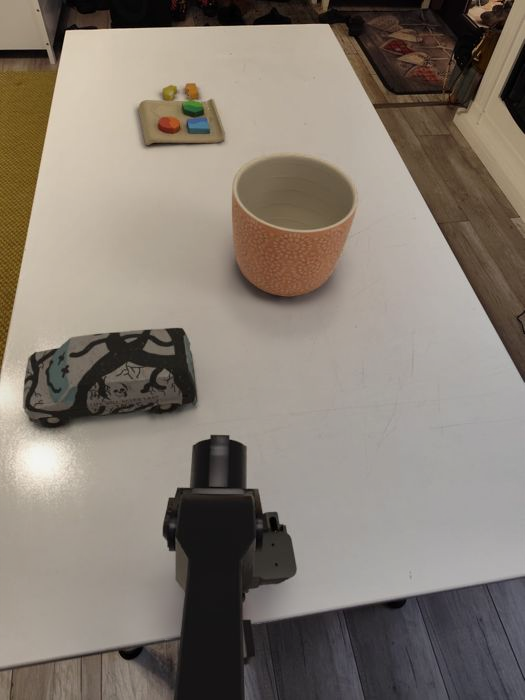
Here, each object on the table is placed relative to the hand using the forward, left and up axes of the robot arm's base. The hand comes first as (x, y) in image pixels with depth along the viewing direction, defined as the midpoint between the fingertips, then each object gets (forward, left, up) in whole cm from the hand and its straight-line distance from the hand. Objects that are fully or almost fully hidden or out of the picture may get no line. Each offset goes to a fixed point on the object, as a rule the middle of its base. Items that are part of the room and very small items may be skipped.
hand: (215, 584), depth 64 cm
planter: (+58, -4, -3) cm, 58 cm away
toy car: (+27, +20, -3) cm, 33 cm away
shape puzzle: (+107, +26, -3) cm, 110 cm away
